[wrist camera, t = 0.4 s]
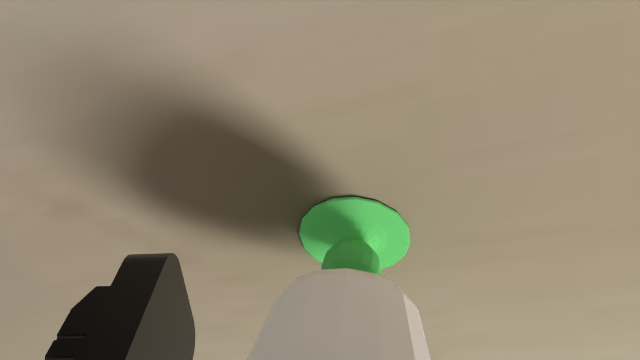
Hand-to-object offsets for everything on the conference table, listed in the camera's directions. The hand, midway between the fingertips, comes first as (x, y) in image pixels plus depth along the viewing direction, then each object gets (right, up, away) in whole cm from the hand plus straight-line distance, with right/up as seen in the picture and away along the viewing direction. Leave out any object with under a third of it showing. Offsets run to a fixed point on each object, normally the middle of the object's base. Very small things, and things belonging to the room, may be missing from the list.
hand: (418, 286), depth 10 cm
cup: (+1, -3, +40) cm, 40 cm away
